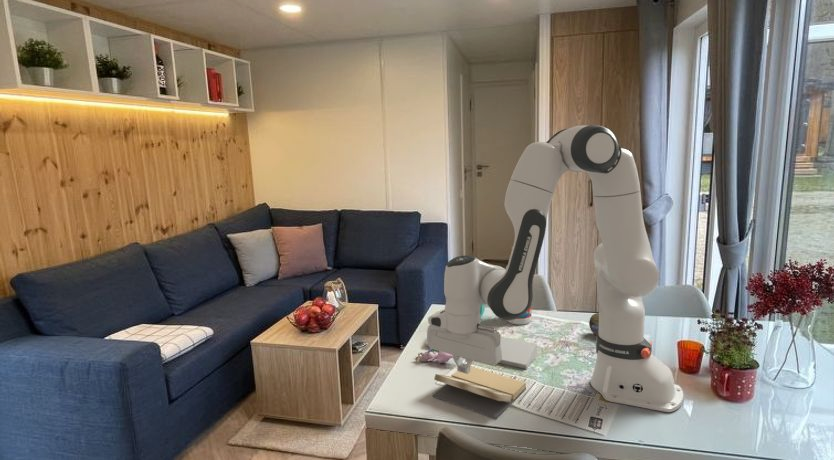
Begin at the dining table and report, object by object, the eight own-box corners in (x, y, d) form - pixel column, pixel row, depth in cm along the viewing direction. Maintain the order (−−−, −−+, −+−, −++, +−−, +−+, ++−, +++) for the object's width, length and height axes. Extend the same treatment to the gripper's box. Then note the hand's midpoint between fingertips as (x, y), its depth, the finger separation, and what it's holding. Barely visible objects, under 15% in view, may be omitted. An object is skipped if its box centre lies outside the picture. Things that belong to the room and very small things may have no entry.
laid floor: (526, 389, 130) (526, 381, 130) (496, 419, 117) (496, 411, 117) (465, 371, 142) (465, 364, 141) (432, 396, 128) (432, 389, 128)
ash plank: (510, 401, 123) (511, 395, 123) (498, 400, 117) (499, 394, 117) (448, 381, 134) (449, 376, 135) (434, 379, 128) (435, 374, 129)
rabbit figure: (415, 368, 148) (462, 366, 142) (411, 350, 147) (458, 347, 142) (421, 359, 154) (466, 357, 148) (417, 341, 153) (463, 339, 148)
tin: (588, 334, 164) (589, 310, 163) (593, 331, 166) (594, 308, 165) (631, 347, 153) (632, 322, 151) (636, 344, 155) (637, 319, 153)
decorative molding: (527, 377, 143) (537, 356, 150) (526, 364, 141) (536, 343, 148) (428, 354, 160) (441, 336, 168) (425, 343, 158) (439, 325, 166)
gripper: (506, 324, 116) (506, 377, 119) (436, 309, 128) (438, 357, 131) (493, 333, 111) (494, 388, 114) (422, 316, 124) (424, 366, 126)
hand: (463, 371), depth 123 cm, fingers closed
